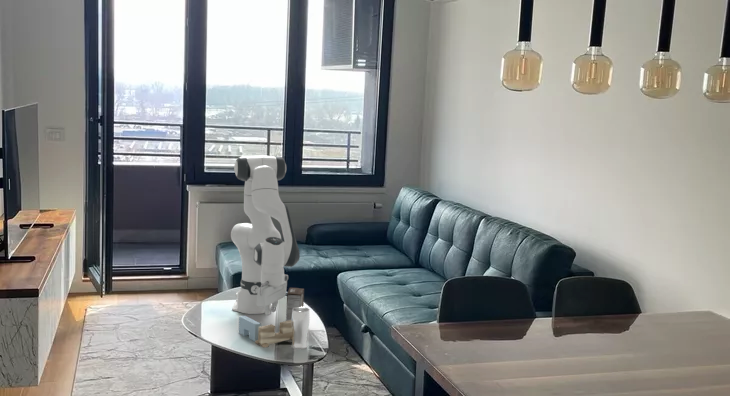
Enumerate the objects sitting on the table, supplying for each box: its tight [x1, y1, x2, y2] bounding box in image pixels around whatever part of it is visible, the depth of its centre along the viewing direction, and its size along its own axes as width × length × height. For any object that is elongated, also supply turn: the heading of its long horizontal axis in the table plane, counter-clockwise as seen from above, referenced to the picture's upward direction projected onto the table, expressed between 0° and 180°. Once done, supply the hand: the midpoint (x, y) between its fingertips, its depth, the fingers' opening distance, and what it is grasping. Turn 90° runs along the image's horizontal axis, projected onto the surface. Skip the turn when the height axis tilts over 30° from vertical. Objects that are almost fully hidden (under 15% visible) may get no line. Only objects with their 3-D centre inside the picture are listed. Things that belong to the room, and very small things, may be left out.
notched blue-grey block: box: [238, 315, 262, 342], centre depth 276 cm, size 12×2×7 cm, turn 42°
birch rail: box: [254, 320, 293, 349], centre depth 272 cm, size 6×16×7 cm, turn 133°
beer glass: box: [291, 306, 311, 350], centre depth 267 cm, size 7×7×15 cm
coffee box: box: [285, 287, 305, 321], centre depth 289 cm, size 9×6×16 cm
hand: (270, 313), depth 274 cm, fingers open, 3 cm apart
